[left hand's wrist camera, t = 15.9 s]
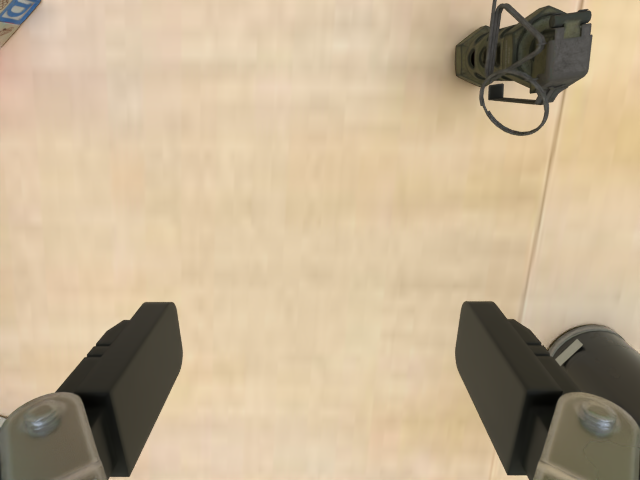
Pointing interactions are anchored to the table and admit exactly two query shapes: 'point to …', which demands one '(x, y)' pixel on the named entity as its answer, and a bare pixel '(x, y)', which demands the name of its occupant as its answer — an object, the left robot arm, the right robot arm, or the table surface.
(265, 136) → the table surface
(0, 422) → the right robot arm
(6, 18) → the stack of blocks
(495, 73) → the grenade
